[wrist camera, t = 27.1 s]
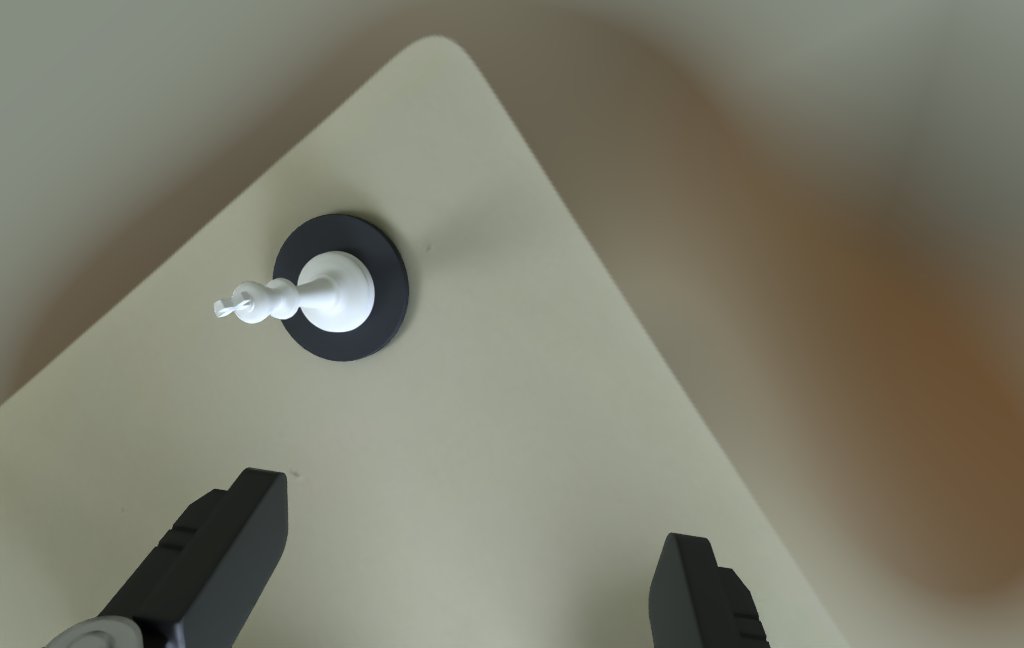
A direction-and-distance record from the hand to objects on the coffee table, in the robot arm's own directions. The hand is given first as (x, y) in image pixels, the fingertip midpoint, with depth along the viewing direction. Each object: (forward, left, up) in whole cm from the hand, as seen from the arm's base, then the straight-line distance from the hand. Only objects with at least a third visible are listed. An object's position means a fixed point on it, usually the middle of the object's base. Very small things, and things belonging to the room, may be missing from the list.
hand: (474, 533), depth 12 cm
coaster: (+5, -15, -21) cm, 27 cm away
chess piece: (+5, -15, -21) cm, 26 cm away
